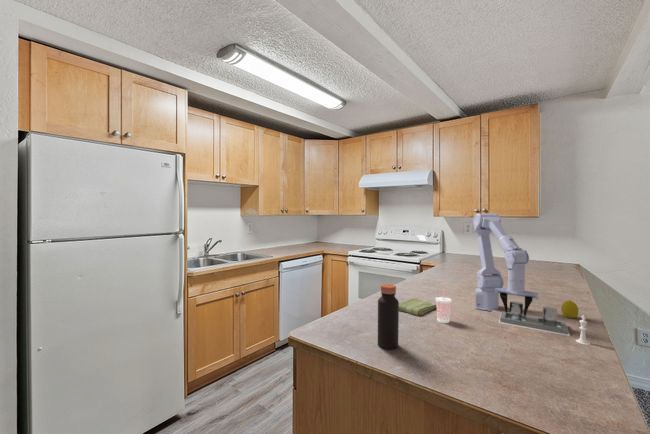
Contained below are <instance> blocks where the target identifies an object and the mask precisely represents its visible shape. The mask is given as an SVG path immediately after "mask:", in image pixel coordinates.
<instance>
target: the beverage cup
mask: <svg viewBox="0 0 650 434" xmlns="http://www.w3.org/2000/svg"><path fill="white" fill-rule="evenodd" d="M435 302H436V304H435V305H437V307H436V319H437V322H439V323H443V324H448V323H450V316H451V308H452V307H451V304H452V298H451V297H445V286H442V296H438V297H437V296H436V297H435Z"/></svg>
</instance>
